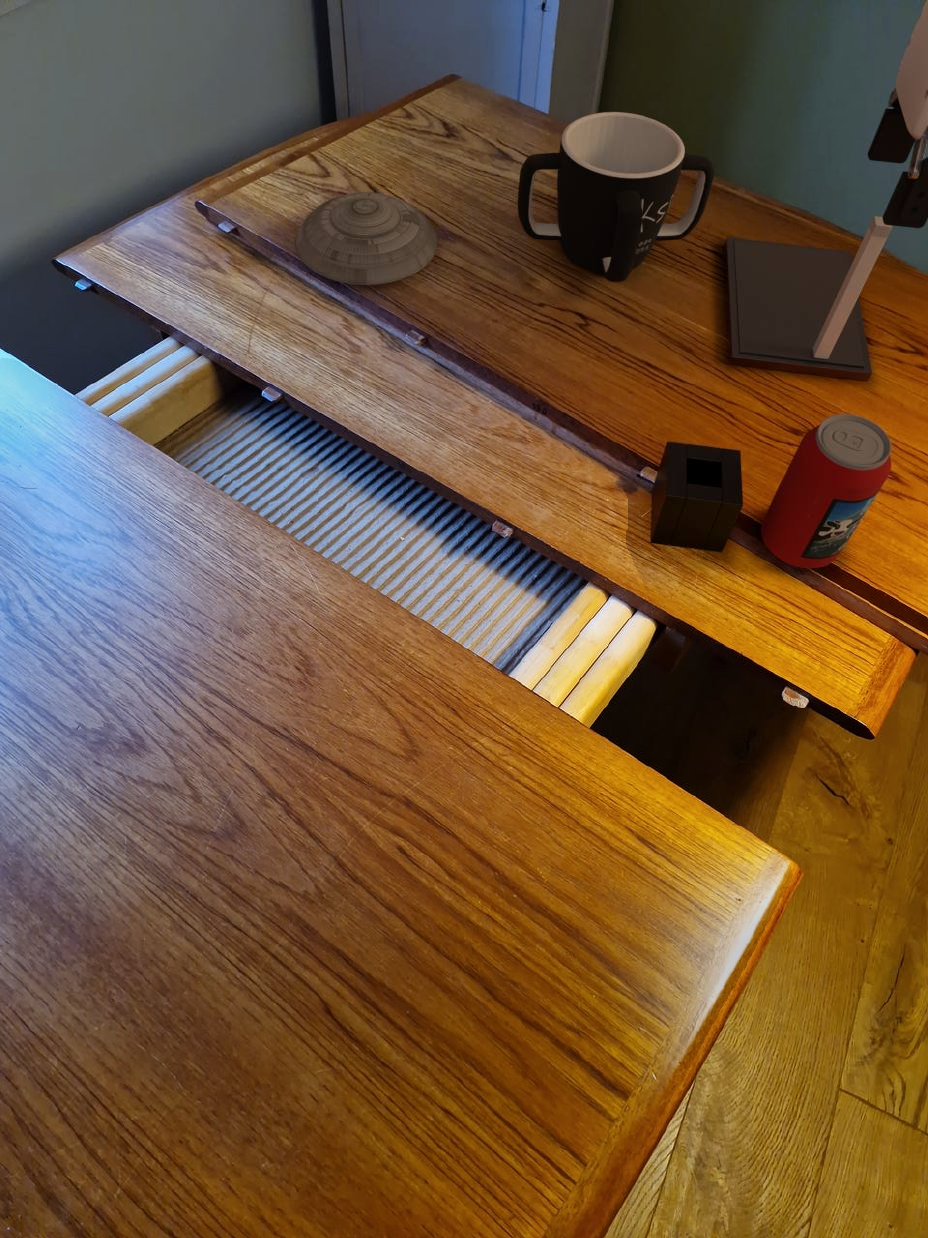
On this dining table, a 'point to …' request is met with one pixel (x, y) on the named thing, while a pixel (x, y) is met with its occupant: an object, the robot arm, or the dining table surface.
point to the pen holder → (696, 496)
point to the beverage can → (827, 490)
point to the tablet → (790, 309)
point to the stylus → (851, 287)
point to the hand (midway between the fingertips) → (893, 191)
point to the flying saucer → (366, 239)
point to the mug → (614, 191)
